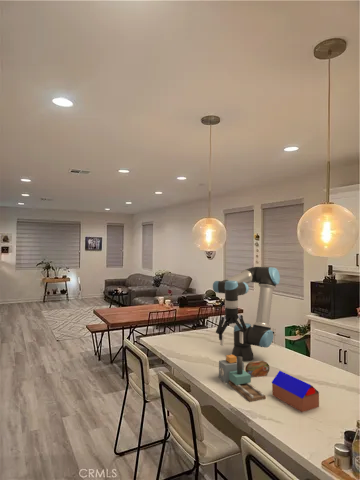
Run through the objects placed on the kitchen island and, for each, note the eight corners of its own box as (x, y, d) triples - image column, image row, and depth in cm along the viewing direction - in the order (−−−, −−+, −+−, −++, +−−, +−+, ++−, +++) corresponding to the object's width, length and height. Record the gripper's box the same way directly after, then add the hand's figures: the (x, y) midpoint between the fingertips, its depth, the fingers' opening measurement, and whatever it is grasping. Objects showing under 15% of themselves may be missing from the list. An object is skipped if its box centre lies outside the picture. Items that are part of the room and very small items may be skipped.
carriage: (229, 379, 176) (229, 355, 177) (243, 376, 180) (242, 353, 180) (236, 384, 169) (236, 360, 169) (250, 382, 172) (250, 358, 172)
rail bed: (228, 383, 177) (228, 379, 177) (242, 381, 180) (242, 376, 180) (250, 401, 156) (250, 396, 156) (265, 398, 159) (265, 393, 159)
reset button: (232, 359, 186) (232, 354, 186) (236, 362, 182) (236, 356, 182) (226, 360, 185) (226, 355, 185) (229, 363, 181) (229, 357, 181)
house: (288, 390, 169) (287, 368, 169) (320, 407, 151) (319, 382, 152) (271, 395, 163) (271, 372, 164) (302, 413, 146) (302, 387, 146)
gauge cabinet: (236, 375, 189) (236, 358, 189) (244, 380, 181) (243, 362, 182) (218, 378, 185) (218, 360, 185) (224, 383, 177) (224, 365, 177)
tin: (247, 378, 184) (247, 363, 185) (244, 376, 188) (244, 361, 188) (269, 375, 189) (269, 361, 189) (267, 373, 192) (267, 359, 192)
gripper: (245, 304, 192) (246, 340, 191) (209, 307, 183) (210, 344, 183) (252, 306, 185) (253, 343, 184) (215, 310, 176) (216, 348, 176)
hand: (231, 344), depth 183 cm, fingers open, 12 cm apart
